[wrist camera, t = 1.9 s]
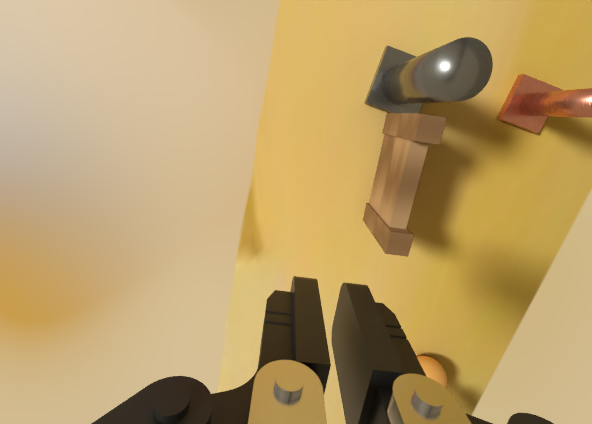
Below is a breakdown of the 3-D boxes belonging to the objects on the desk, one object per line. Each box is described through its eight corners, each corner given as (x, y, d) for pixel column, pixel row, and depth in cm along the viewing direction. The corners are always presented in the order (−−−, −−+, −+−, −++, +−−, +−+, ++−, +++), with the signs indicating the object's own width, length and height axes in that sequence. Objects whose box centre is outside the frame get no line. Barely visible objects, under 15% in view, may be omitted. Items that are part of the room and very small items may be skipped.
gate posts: (393, 25, 25) (459, -29, 15) (556, 90, 26) (708, 78, 17) (364, 103, 26) (406, 98, 17) (519, 159, 28) (637, 184, 18)
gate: (387, 112, 26) (421, 113, 19) (406, 116, 26) (446, 117, 19) (362, 219, 28) (385, 253, 22) (380, 222, 28) (408, 256, 22)
